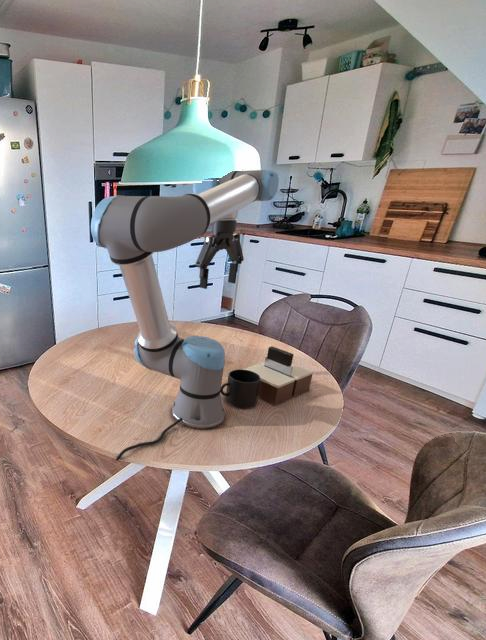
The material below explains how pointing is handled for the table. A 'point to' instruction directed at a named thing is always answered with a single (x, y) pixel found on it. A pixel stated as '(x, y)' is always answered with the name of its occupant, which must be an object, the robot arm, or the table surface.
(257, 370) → the split beige slab
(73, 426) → the table surface
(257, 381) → the mug
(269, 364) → the dough scraper
